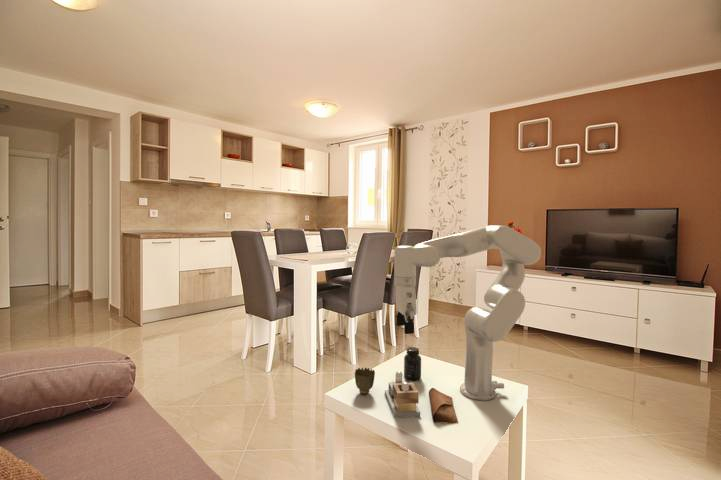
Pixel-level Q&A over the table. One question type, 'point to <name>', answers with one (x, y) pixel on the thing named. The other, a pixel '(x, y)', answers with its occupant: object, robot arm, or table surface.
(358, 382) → the cup
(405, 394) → the collar
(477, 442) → the table surface
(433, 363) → the table surface
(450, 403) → the sunglasses case
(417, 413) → the parts board
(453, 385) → the table surface
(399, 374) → the stand rod
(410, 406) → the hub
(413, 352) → the supplement bottle
